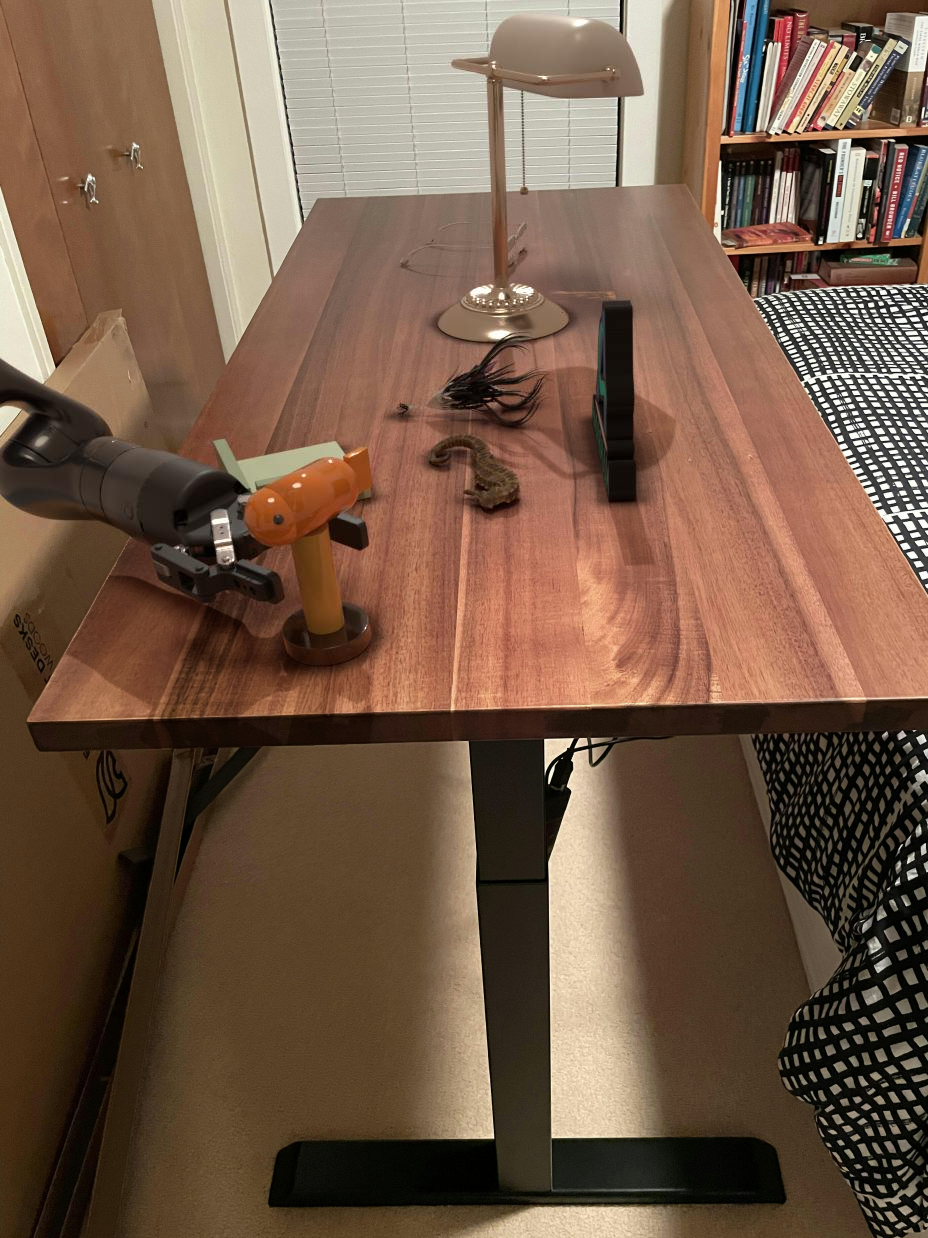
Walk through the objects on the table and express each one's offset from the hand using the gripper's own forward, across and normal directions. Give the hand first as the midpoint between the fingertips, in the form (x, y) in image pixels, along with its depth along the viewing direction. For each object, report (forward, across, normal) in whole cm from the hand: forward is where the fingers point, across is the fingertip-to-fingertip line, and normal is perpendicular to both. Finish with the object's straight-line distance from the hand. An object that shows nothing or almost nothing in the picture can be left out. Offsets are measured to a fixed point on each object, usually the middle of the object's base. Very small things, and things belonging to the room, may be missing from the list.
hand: (323, 562), depth 68 cm
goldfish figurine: (-1, 0, -7) cm, 7 cm away
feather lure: (-17, -40, -7) cm, 44 cm away
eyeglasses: (-60, -92, -7) cm, 109 cm away
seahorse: (-8, -27, -7) cm, 29 cm away
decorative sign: (+1, -38, -7) cm, 39 cm away
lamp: (-33, -70, -7) cm, 78 cm away
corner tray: (-22, -17, -7) cm, 29 cm away
